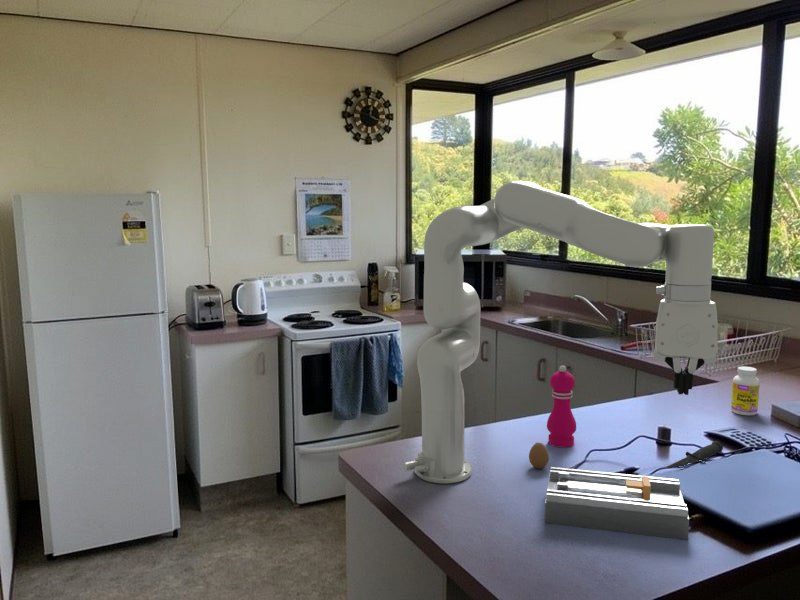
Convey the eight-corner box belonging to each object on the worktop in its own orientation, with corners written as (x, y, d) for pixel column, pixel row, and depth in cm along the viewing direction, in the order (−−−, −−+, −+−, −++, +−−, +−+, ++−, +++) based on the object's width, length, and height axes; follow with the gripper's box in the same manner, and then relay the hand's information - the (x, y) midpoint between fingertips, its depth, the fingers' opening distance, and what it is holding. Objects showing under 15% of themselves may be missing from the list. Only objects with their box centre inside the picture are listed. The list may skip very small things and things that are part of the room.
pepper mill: (577, 449, 157) (578, 369, 154) (546, 447, 158) (548, 368, 155) (575, 438, 164) (576, 362, 161) (546, 436, 165) (547, 361, 162)
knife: (711, 445, 156) (717, 437, 155) (726, 460, 153) (732, 453, 152) (644, 466, 144) (650, 459, 142) (659, 483, 141) (665, 476, 139)
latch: (626, 498, 121) (626, 483, 120) (625, 488, 125) (625, 474, 125) (650, 501, 120) (650, 486, 119) (648, 491, 124) (648, 476, 123)
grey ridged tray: (544, 522, 121) (545, 491, 120) (549, 490, 134) (549, 462, 133) (688, 540, 114) (689, 507, 113) (678, 504, 127) (679, 475, 126)
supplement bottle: (732, 414, 180) (734, 370, 178) (729, 407, 186) (732, 364, 184) (759, 417, 177) (762, 372, 175) (755, 410, 183) (758, 366, 181)
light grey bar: (559, 491, 125) (559, 485, 125) (560, 484, 128) (560, 479, 128) (641, 499, 121) (642, 494, 120) (640, 492, 124) (640, 487, 124)
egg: (538, 473, 143) (538, 448, 142) (524, 467, 147) (524, 441, 146) (552, 469, 145) (553, 443, 144) (538, 462, 149) (539, 437, 148)
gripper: (644, 295, 113) (640, 395, 116) (738, 297, 109) (731, 401, 112) (641, 289, 120) (637, 384, 123) (729, 291, 116) (723, 389, 119)
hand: (682, 392), depth 117 cm, fingers closed
